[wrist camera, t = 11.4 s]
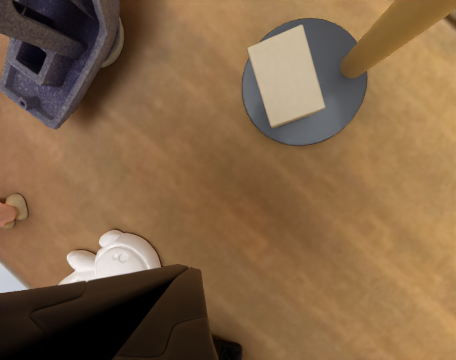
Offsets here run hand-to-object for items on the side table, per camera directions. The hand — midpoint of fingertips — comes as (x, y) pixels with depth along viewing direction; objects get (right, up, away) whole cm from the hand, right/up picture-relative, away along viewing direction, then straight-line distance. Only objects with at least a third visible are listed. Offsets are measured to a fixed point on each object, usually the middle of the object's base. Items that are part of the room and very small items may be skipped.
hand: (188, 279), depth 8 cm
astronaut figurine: (-11, -6, +17) cm, 21 cm away
